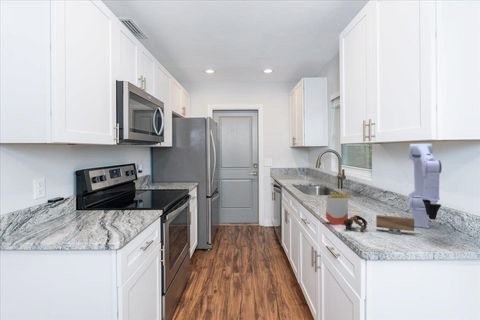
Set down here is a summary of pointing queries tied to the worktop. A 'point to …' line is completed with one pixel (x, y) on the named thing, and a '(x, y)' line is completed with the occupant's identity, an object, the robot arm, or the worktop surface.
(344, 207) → the french fries container
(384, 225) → the batten
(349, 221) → the dark brown curved piece
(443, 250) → the worktop surface
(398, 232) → the fulcrum
